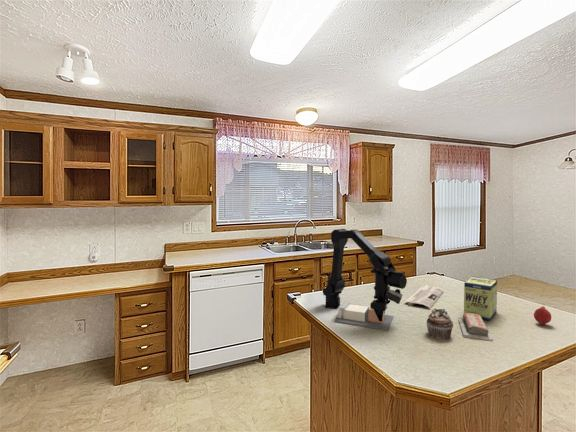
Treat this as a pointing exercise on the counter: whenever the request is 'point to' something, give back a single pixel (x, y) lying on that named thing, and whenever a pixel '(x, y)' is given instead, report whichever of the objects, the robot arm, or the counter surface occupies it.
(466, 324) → the packaged product
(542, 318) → the onion
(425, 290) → the newspaper
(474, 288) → the protein box
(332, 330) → the counter surface
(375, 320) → the stub
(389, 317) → the grey flat tray
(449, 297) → the counter surface
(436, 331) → the cupcake
